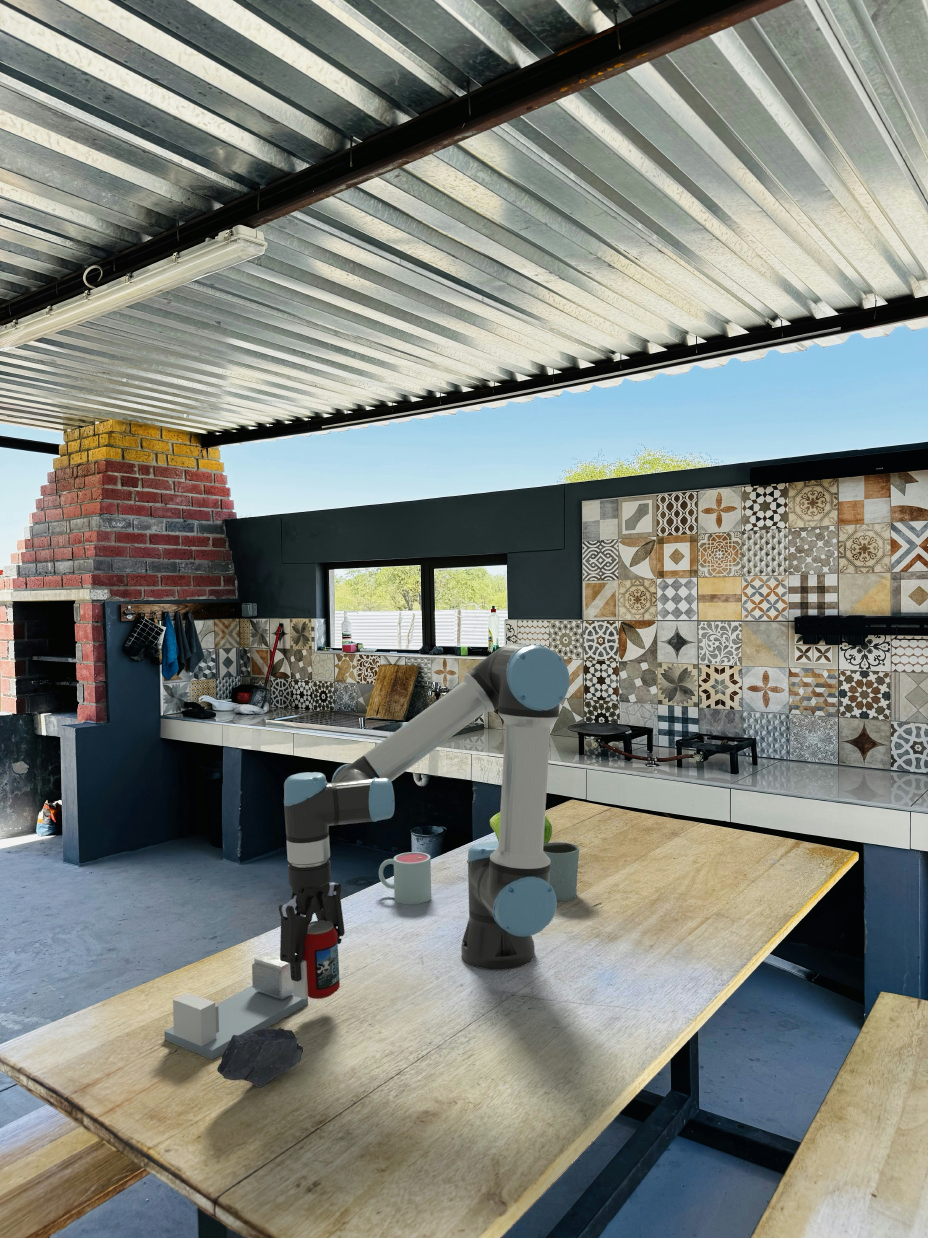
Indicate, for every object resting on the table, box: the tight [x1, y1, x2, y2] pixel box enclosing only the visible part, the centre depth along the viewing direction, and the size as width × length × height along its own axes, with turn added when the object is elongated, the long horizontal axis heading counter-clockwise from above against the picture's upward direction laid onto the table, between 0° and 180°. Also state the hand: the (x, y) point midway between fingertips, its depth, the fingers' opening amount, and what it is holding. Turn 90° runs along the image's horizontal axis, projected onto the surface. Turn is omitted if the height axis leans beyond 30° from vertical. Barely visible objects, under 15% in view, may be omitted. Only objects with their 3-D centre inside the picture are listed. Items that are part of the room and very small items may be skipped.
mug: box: [378, 851, 432, 905], centre depth 209 cm, size 14×9×10 cm
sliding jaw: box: [251, 952, 294, 1000], centre depth 154 cm, size 7×4×6 cm, turn 57°
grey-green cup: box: [543, 841, 580, 903], centre depth 208 cm, size 10×10×12 cm
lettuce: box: [489, 811, 553, 844], centre depth 244 cm, size 15×20×14 cm
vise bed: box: [163, 985, 309, 1060], centre depth 148 cm, size 12×22×8 cm, turn 147°
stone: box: [216, 1027, 305, 1088], centre depth 127 cm, size 14×6×10 cm, turn 150°
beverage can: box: [303, 920, 341, 1000], centre depth 149 cm, size 7×7×12 cm
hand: (315, 988), depth 150 cm, fingers closed on beverage can, 7 cm apart
